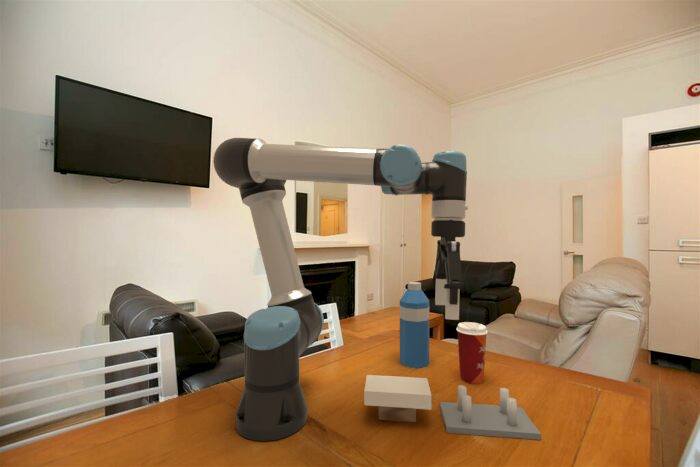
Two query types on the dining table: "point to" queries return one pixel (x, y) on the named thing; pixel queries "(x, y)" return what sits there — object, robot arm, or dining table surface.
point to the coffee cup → (471, 351)
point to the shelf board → (397, 392)
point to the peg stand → (488, 417)
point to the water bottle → (414, 327)
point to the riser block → (397, 414)
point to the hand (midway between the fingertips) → (445, 311)
